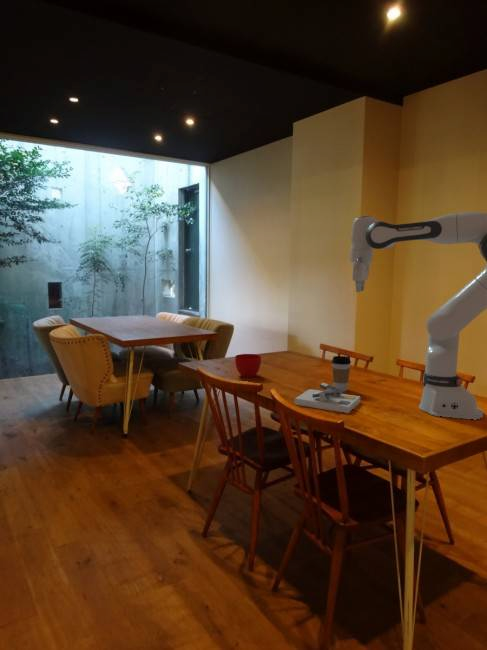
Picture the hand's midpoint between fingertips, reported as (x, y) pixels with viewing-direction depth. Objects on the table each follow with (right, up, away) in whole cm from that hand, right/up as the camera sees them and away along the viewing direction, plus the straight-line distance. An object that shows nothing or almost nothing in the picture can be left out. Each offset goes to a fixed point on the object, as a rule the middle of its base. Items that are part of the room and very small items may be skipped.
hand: (359, 291), depth 187 cm
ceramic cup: (-45, -39, +46) cm, 75 cm away
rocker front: (-15, -41, -6) cm, 44 cm away
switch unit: (-13, -45, -2) cm, 47 cm away
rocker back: (-11, -40, +1) cm, 42 cm away
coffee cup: (-4, -43, +19) cm, 47 cm away
